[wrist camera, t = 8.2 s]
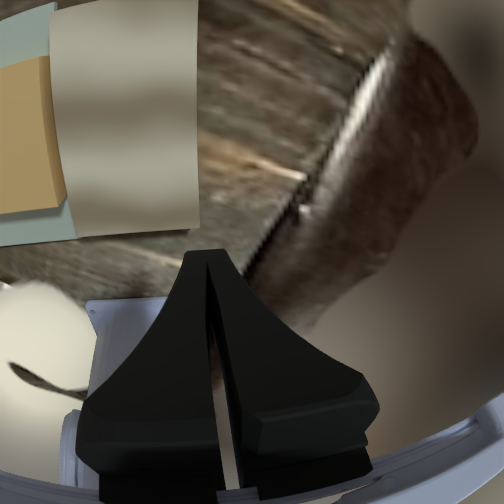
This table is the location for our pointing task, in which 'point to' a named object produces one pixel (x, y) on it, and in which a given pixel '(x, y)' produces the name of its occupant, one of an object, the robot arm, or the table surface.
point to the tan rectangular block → (28, 139)
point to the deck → (127, 113)
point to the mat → (4, 54)
